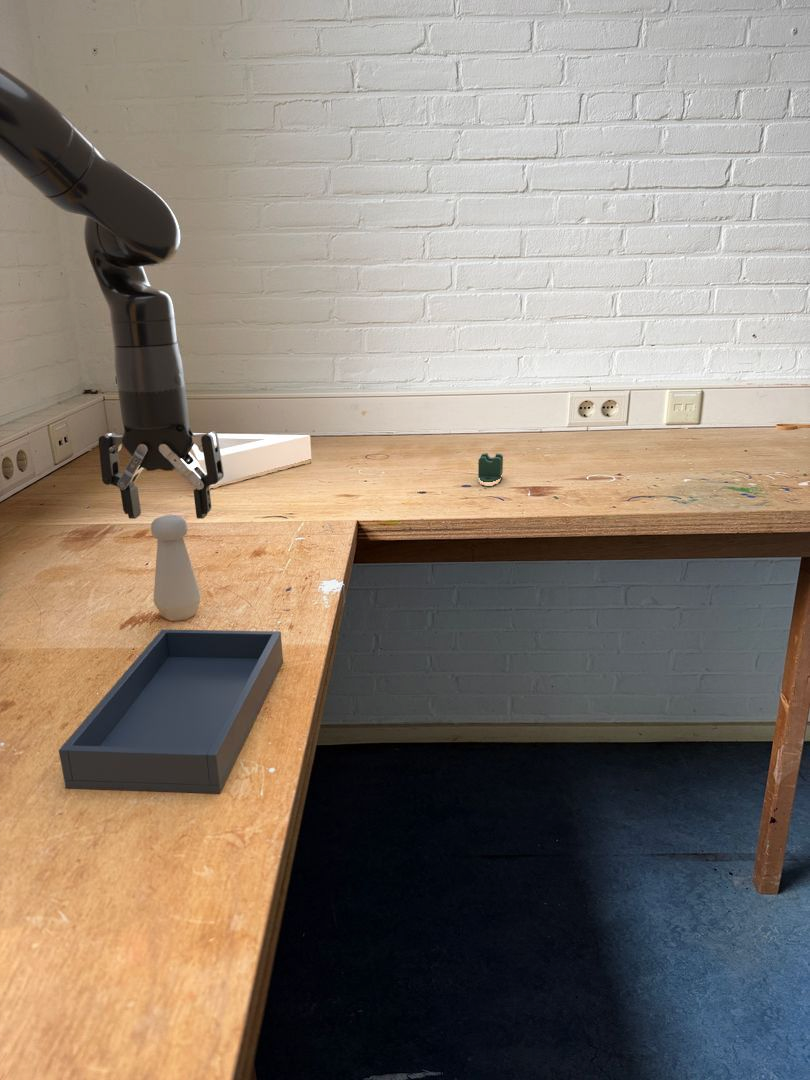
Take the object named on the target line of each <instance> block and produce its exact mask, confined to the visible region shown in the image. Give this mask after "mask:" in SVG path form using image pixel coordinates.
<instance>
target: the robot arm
mask: <svg viewBox="0 0 810 1080" xmlns="http://www.w3.org/2000/svg"><path fill="white" fill-rule="evenodd" d="M0 157H1V158H3V160H4V161H6V163H8V165H10V166H11V167H12V168H13V169H14V170H15V171H17V173H18V174H20V175H21V176H22V177H23V178H24V179H25V180H26V181H28V182H29V183H30V184H31V185H32V186H33V187H34V188H35V189H36V190H38V191H39V192H40V194H41V195H43V196H44V197H45V198H46V199H47V200H49V201H50V203H52V204H53V205H55V206H56V207H57V208H59V209H60V210H61V211H62V210H63V211H64V212H67V213H72V214H77V215H81V216H85V220H84V225H83V240H84V245H85V250H86V253H87V256H88V259H89V262H90V264H91V268H92V271H93V272H94V276H95V278H96V281H97V283H98V285H99V288H100V291H101V293H102V296H103V297H104V300H105V302H106V304H107V307H108V310H109V319H110V327H111V328H110V329H111V334H112V341H113V345H114V346H113V350H114V372H115V378H114V379H115V383H116V386H117V393H118V399H119V400H118V401H119V407H120V414H121V421H122V425H123V430H124V431H123V434H117V433H115V432H114V431H110V432H107V433H105V434H103V435H100V436H99V437H98V447H99V448H98V450H99V459H100V460H99V461H100V471H101V472H100V473H101V479H102V480H101V481H102V483H103V484H104V485H106V486H109V485H112V486H115V487H117V488H118V489H119V490H120V498H121V503H122V510H123V512H124V514H125V515H127V516H128V519H130V520H136V519H137V518H138V517H140V516H141V514H142V510H141V503H140V502H141V501H140V497H139V496H140V495H139V488H138V485H135V483H136V481H137V479H138V478H139V476H140V474H142V472H143V471H144V470H146V471H147V472H152V471H156V470H157V471H158V470H162V471H164V472H166V471H167V472H170V471H173V470H176V471H177V472H178V473H179V474H180V475H181V476H182V477H184V478H186V479H187V480H188V481H189V483H191V485H192V486H193V487H194V489H193V500H194V505H195V506H194V508H195V517H196V519H205V518H206V517H207V516H208V513H210V512H211V510H212V498H211V497H212V496H211V490H210V485H212V484H216V483H217V482H218V481H220V480H221V479H222V478H223V477H224V472H223V466H222V460H221V454H220V448H219V442H218V436H217V434H218V433H217V432H216V431H215V430H210V431H208V432H206V433H207V434H195V435H194V434H193V433H194V432H192V430H191V426H190V417H189V408H188V398H187V389H186V381H185V371H184V364H183V360H182V355H181V352H180V346H179V343H178V332H177V323H176V316H175V315H176V314H175V307H174V302H173V299H172V297H171V296H170V295H169V294H168V293H167V292H165V291H164V290H160V289H158V288H155V287H153V286H152V285H151V283H150V282H149V279H148V277H147V274H146V272H145V269H144V267H155V266H156V267H157V266H161V265H165V264H166V263H168V262H170V261H172V260H173V258H174V257H175V256H176V255H177V254H178V251H179V249H180V245H181V231H180V226H179V222H178V220H177V217H176V216H175V214H174V213H173V211H172V209H171V208H170V206H169V205H168V204H167V202H166V201H164V199H163V198H162V197H161V196H160V195H158V193H156V192H155V191H154V190H153V189H151V188H150V187H149V186H147V185H146V184H144V182H142V181H141V180H139V179H137V178H136V177H135V176H134V175H132V174H130V172H128V171H126V170H125V169H123V168H122V167H121V166H119V165H117V164H116V163H114V162H113V161H111V160H109V159H108V158H106V157H105V156H104V155H103V154H101V152H99V150H98V149H97V148H96V147H95V146H94V145H93V144H92V143H91V142H90V140H89V139H88V138H87V137H86V136H85V135H84V134H83V133H82V132H81V131H80V130H79V129H78V128H77V127H76V125H74V123H72V122H71V121H70V120H69V119H68V118H67V116H66V115H65V114H64V113H63V112H61V111H60V110H59V109H58V108H57V107H56V105H54V104H53V103H52V102H50V101H49V100H48V99H47V98H46V97H45V96H43V94H41V93H40V92H38V91H37V90H36V89H34V88H33V87H32V86H31V85H29V84H27V82H24V81H23V80H22V79H20V78H18V77H17V76H16V75H14V74H13V73H11V72H9V71H8V70H7V69H5V68H3V67H2V66H0ZM194 444H196V445H197V446H198V449H199V451H201V452H203V453H204V459H205V465H206V471H207V474H206V473H205V472H204V471H203V470H202V468H201V467H200V466H199V463H198V461H197V460H196V459H195V458H194V457H193V456H192V454H191V453H190V450H191V448H192V447H193V445H194ZM122 447H124V448H125V449H126V450H127V452H128V453H129V454H130V456H131V458H130V460H129V461H128V463H127V465H126V466H125V468H124V469H123V473H121V468H120V459H119V458H120V457H119V452H120V451H121V450H122Z"/></svg>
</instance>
